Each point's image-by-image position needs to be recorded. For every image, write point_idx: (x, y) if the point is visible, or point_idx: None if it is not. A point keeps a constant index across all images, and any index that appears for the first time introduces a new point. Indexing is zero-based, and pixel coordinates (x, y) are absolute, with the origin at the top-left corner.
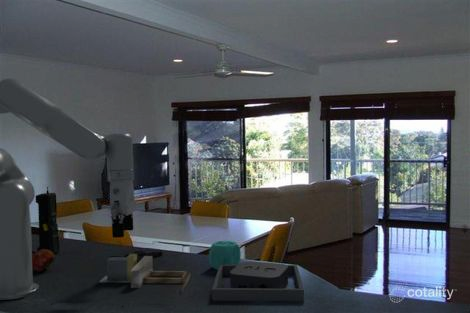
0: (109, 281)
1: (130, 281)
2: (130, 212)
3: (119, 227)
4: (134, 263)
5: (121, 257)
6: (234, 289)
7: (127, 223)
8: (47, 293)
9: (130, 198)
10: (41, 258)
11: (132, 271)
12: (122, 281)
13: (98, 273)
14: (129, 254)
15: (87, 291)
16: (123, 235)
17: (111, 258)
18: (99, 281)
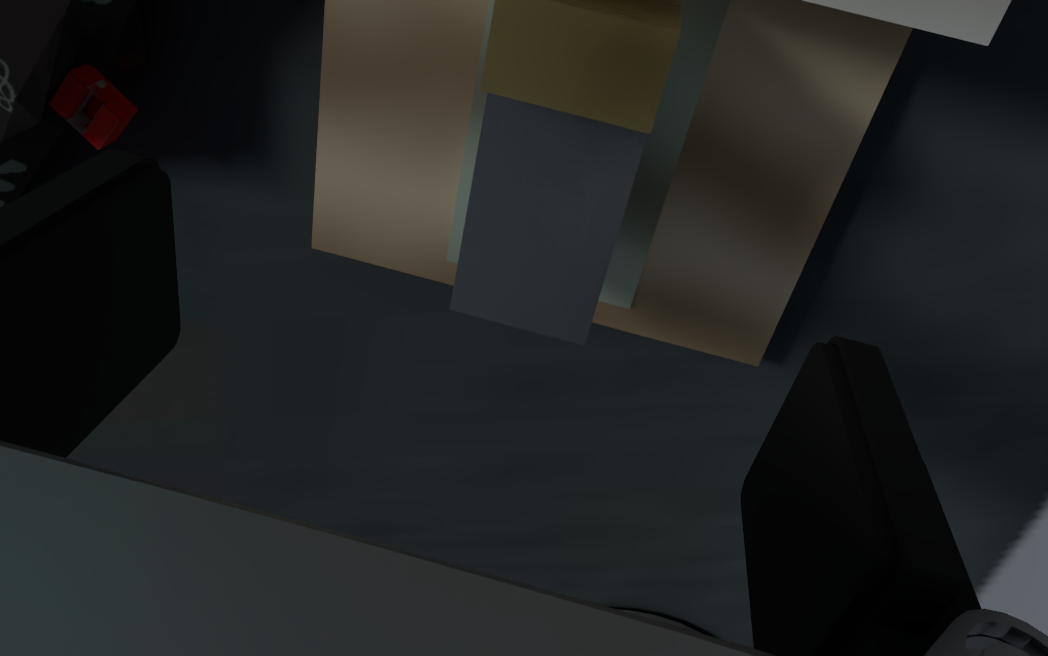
0: (637, 226)
1: (695, 23)
2: (539, 625)
3: (966, 573)
4: (645, 5)
5: (484, 192)
6: None
7: (83, 331)
8: (684, 565)
9: None
10: None
11: (996, 18)
12: (670, 107)
13: (263, 304)
14: (18, 83)
15: (724, 360)
16: (881, 359)
17: (510, 299)
18: (611, 304)
